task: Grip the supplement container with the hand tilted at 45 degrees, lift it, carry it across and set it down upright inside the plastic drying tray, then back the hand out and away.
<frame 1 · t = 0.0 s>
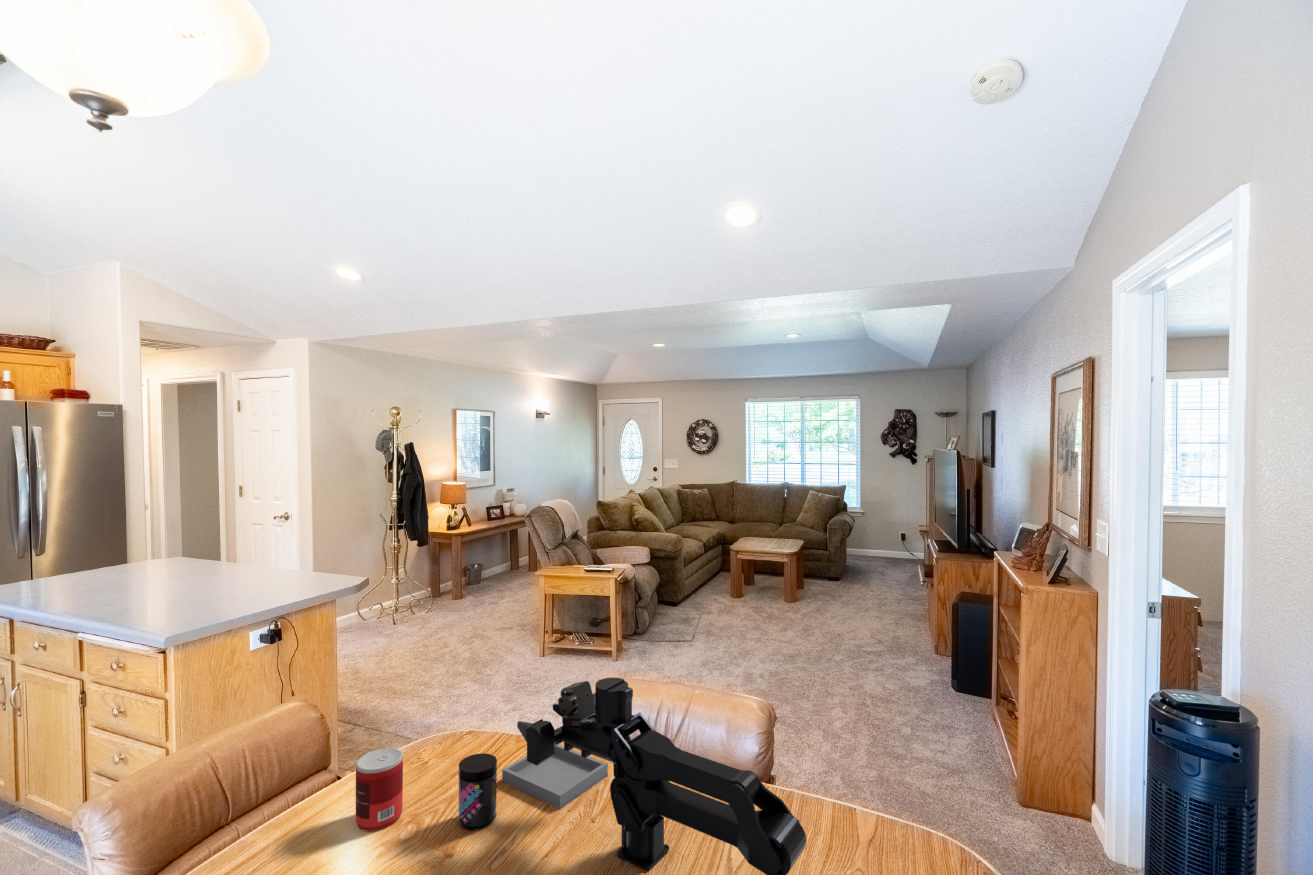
hand: (536, 715, 117), 17 cm above the table, tool horizontal, fingers open, 9 cm apart
canned food: (379, 819, 112), on the table
supplement container: (477, 821, 111), on the table
drying tray: (555, 778, 125), on the table
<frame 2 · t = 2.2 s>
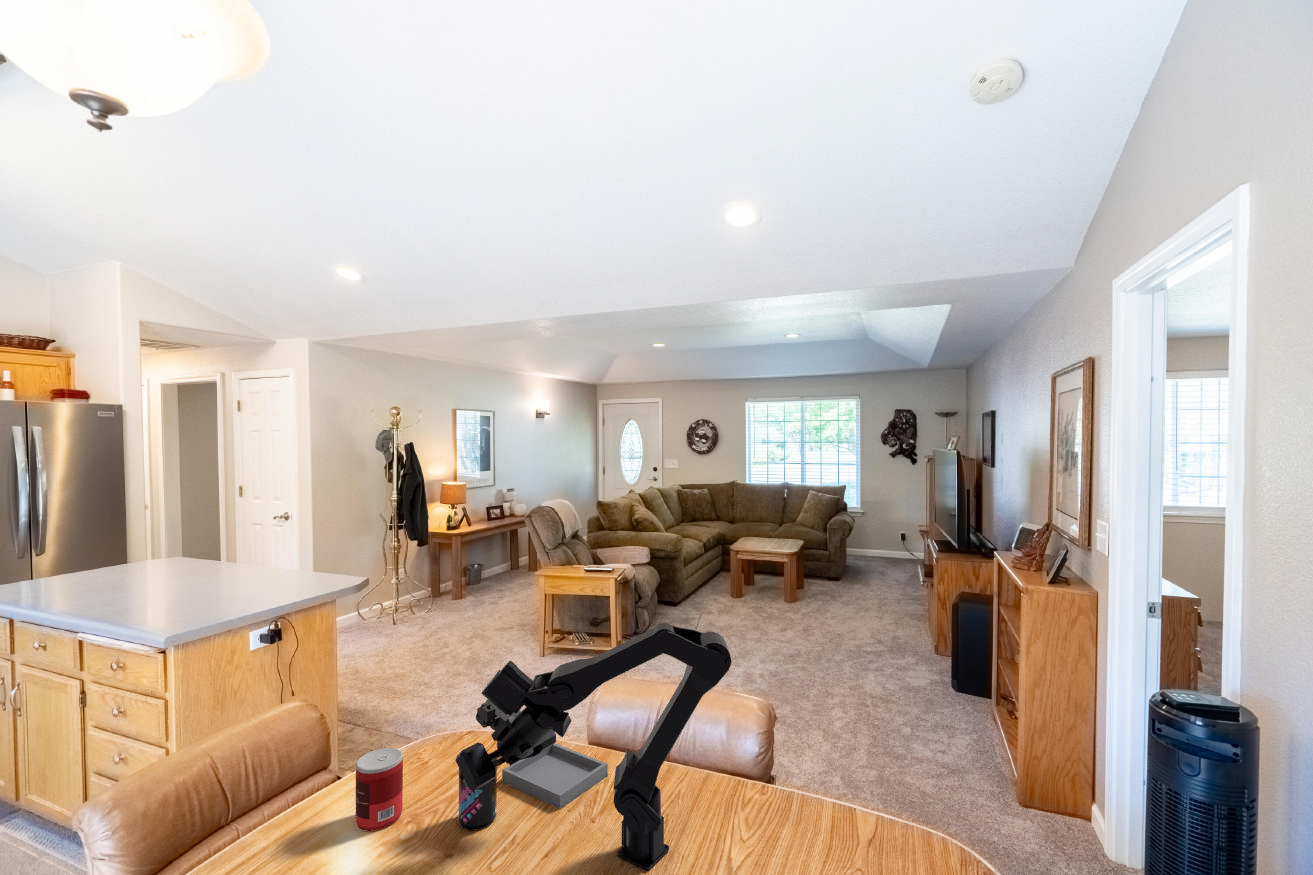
hand: (486, 771, 110), 10 cm above the table, tool tilted 45°, fingers open, 9 cm apart
nothing on the table moved.
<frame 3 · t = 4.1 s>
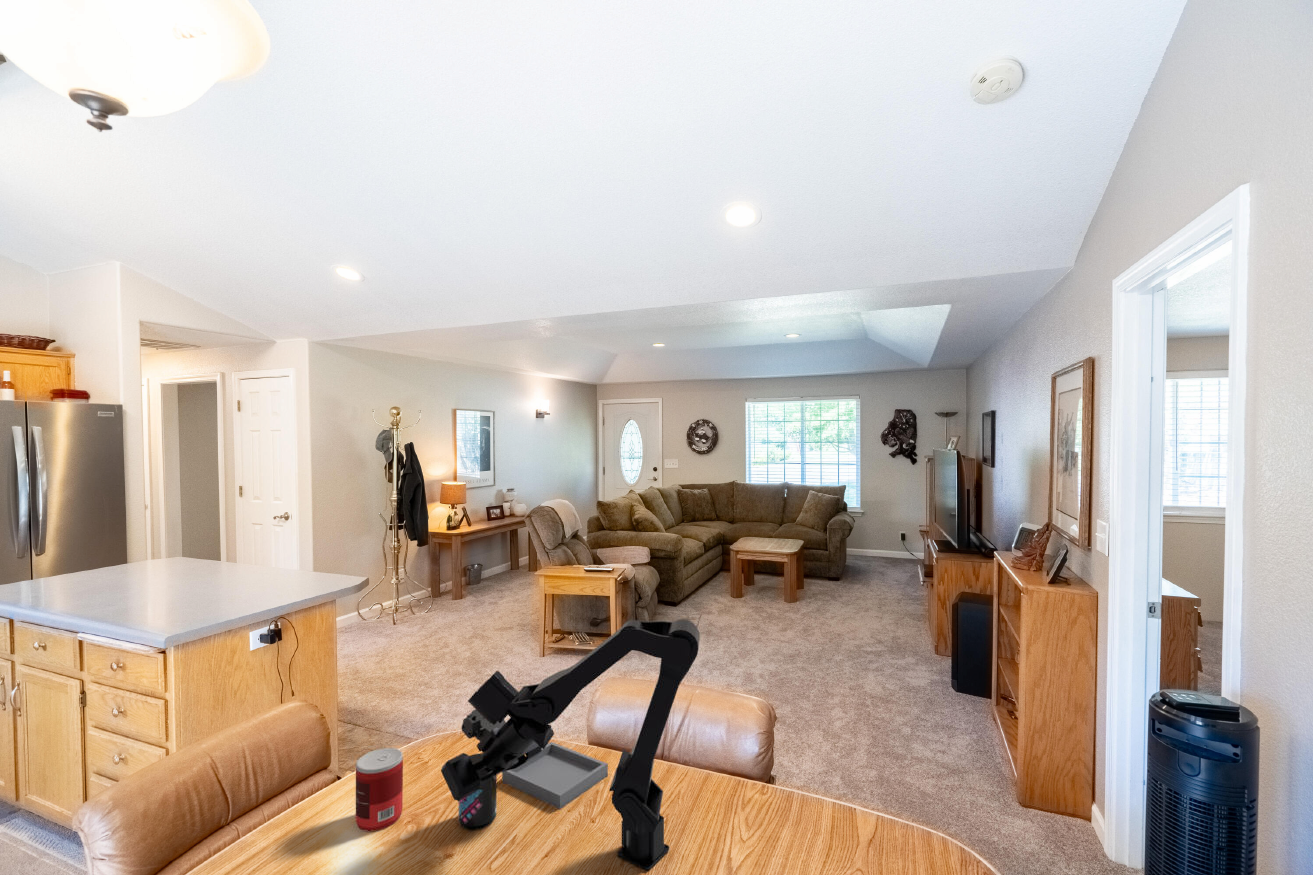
hand: (472, 780, 112), 7 cm above the table, tool tilted 45°, fingers closed on supplement container, 7 cm apart
supplement container: (477, 820, 111), on the table, touching gripper
everything else where it was.
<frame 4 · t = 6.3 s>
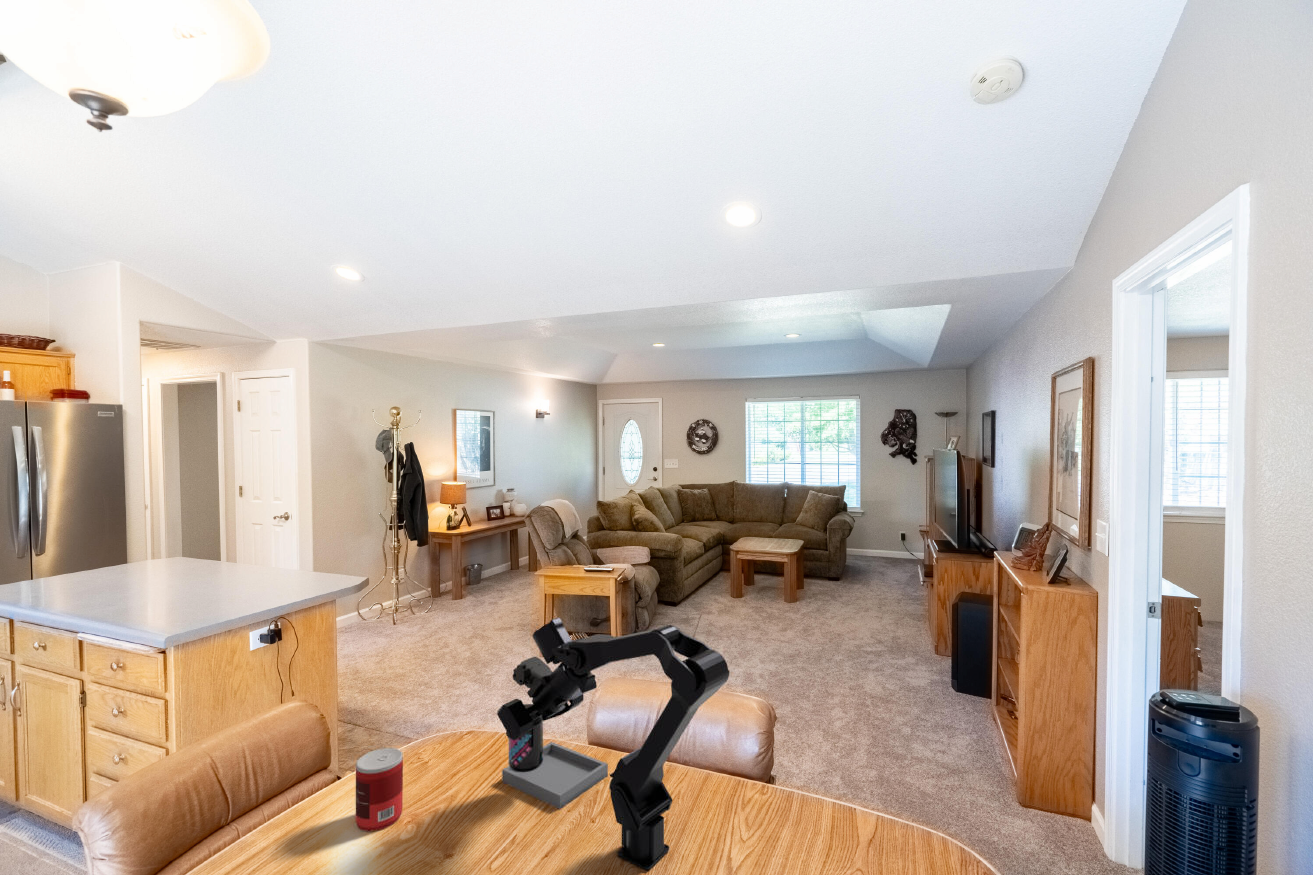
hand: (521, 728, 121), 12 cm above the table, tool tilted 45°, fingers closed on supplement container, 7 cm apart
supplement container: (525, 765, 120), point 5 cm above the table, touching gripper
everything else where it was.
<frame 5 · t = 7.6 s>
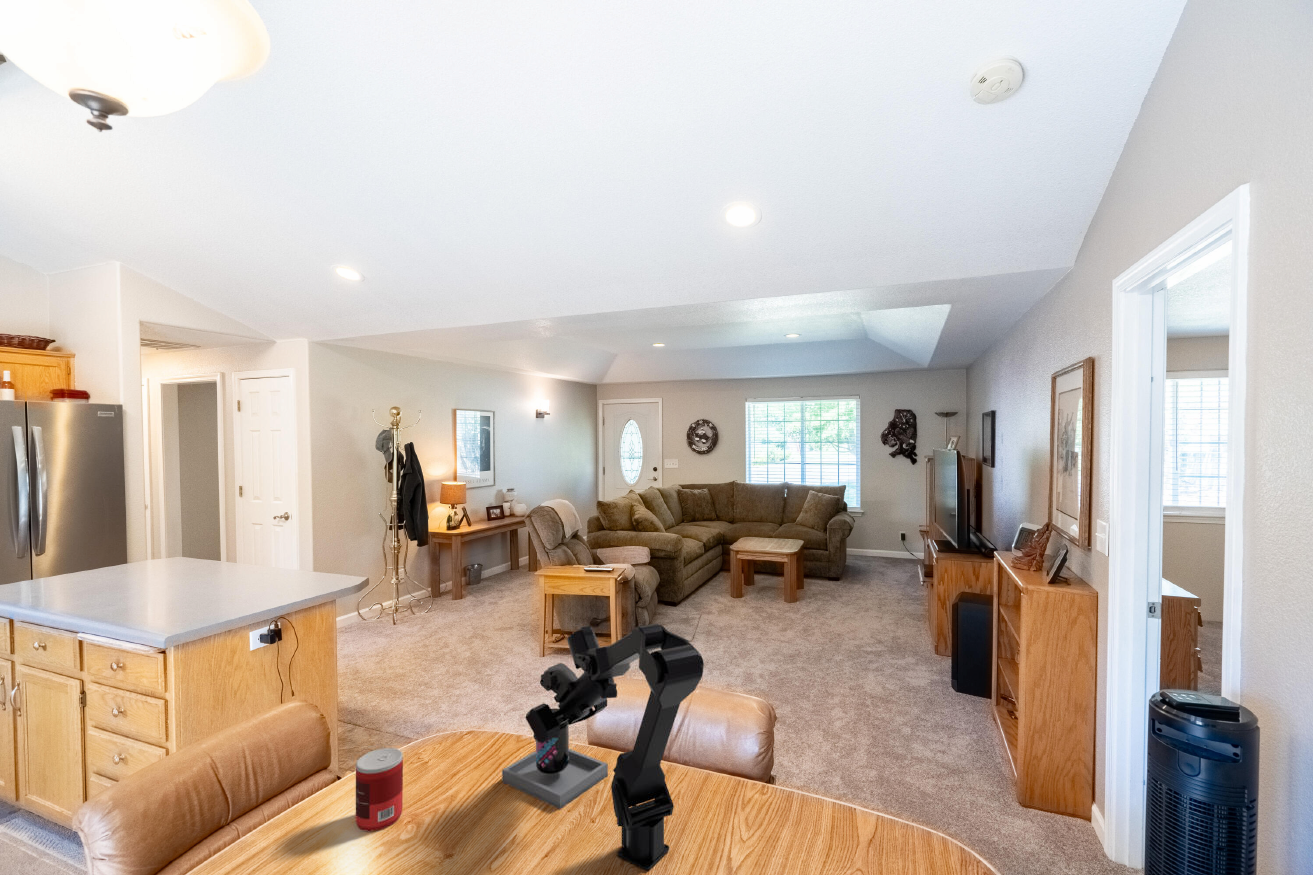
hand: (547, 731, 126), 9 cm above the table, tool tilted 45°, fingers closed on supplement container, 7 cm apart
supplement container: (552, 767, 125), point 2 cm above the table, touching gripper
everything else where it was.
when the fingers open (8 cm above the table, at t = 8.7 s): supplement container stays where it is, resting on drying tray.
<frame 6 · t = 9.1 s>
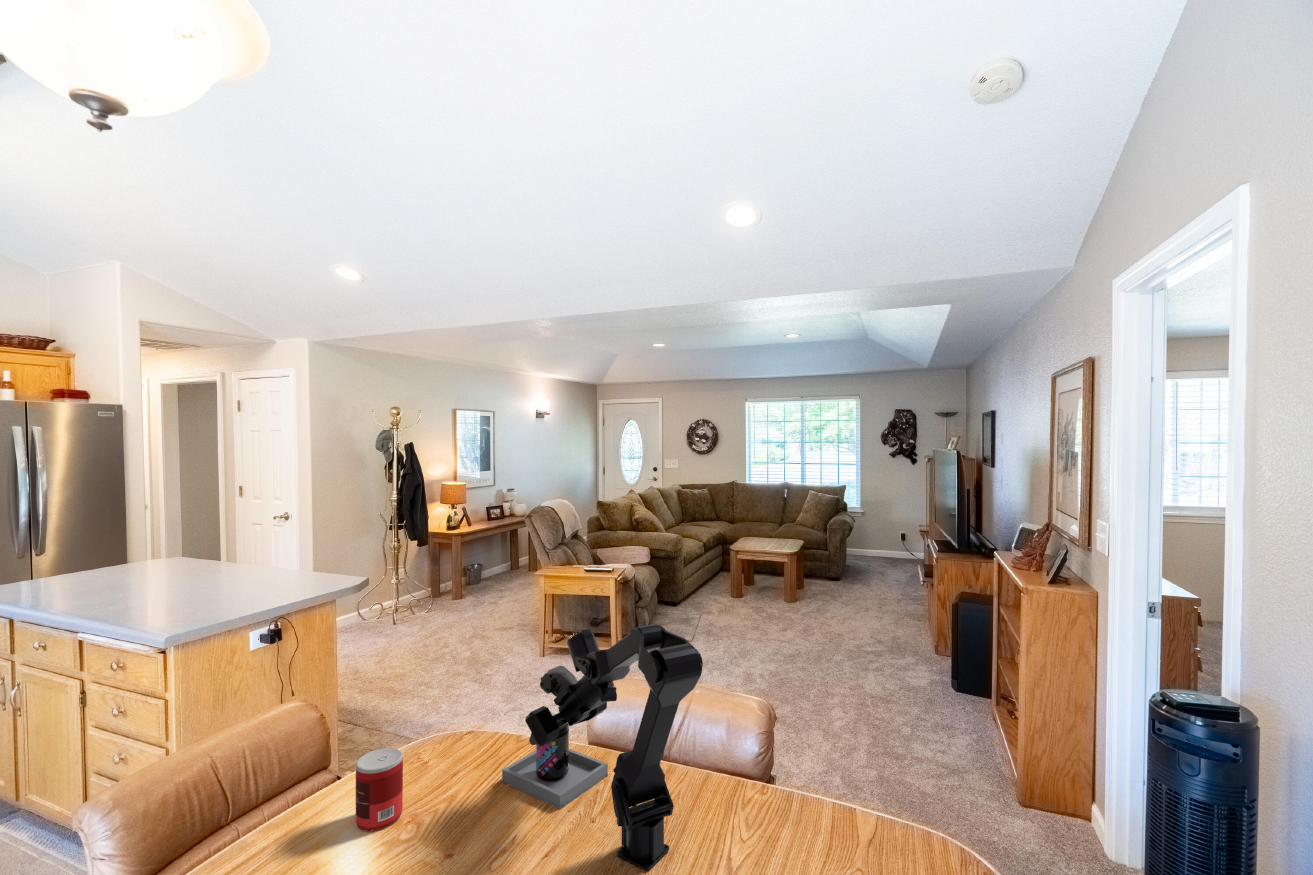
hand: (547, 733, 126), 9 cm above the table, tool tilted 45°, fingers open, 9 cm apart
supplement container: (552, 774, 125), point 1 cm above the table, touching drying tray
everything else where it was.
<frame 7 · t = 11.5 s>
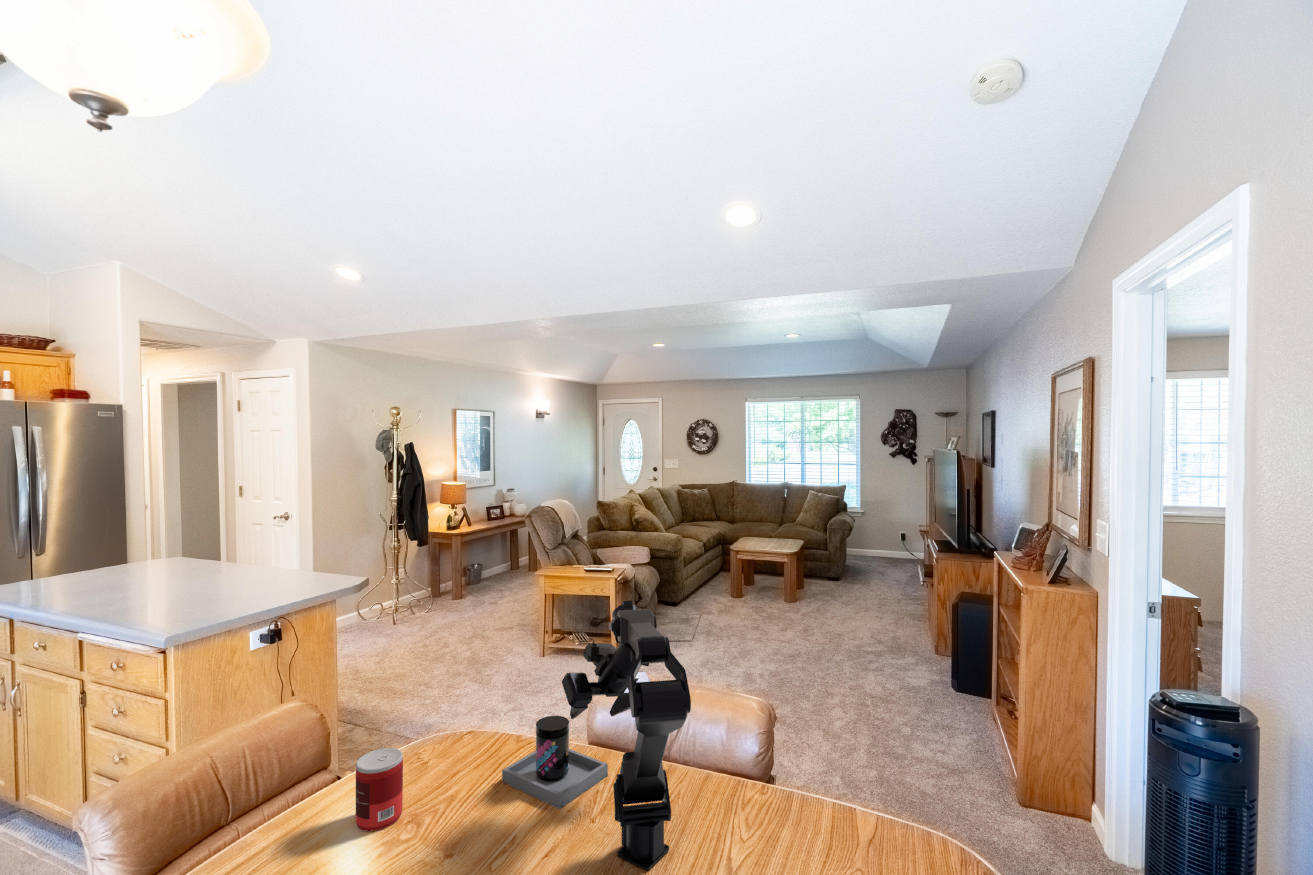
hand: (591, 715, 123), 14 cm above the table, tool tilted 35°, fingers open, 9 cm apart
nothing on the table moved.
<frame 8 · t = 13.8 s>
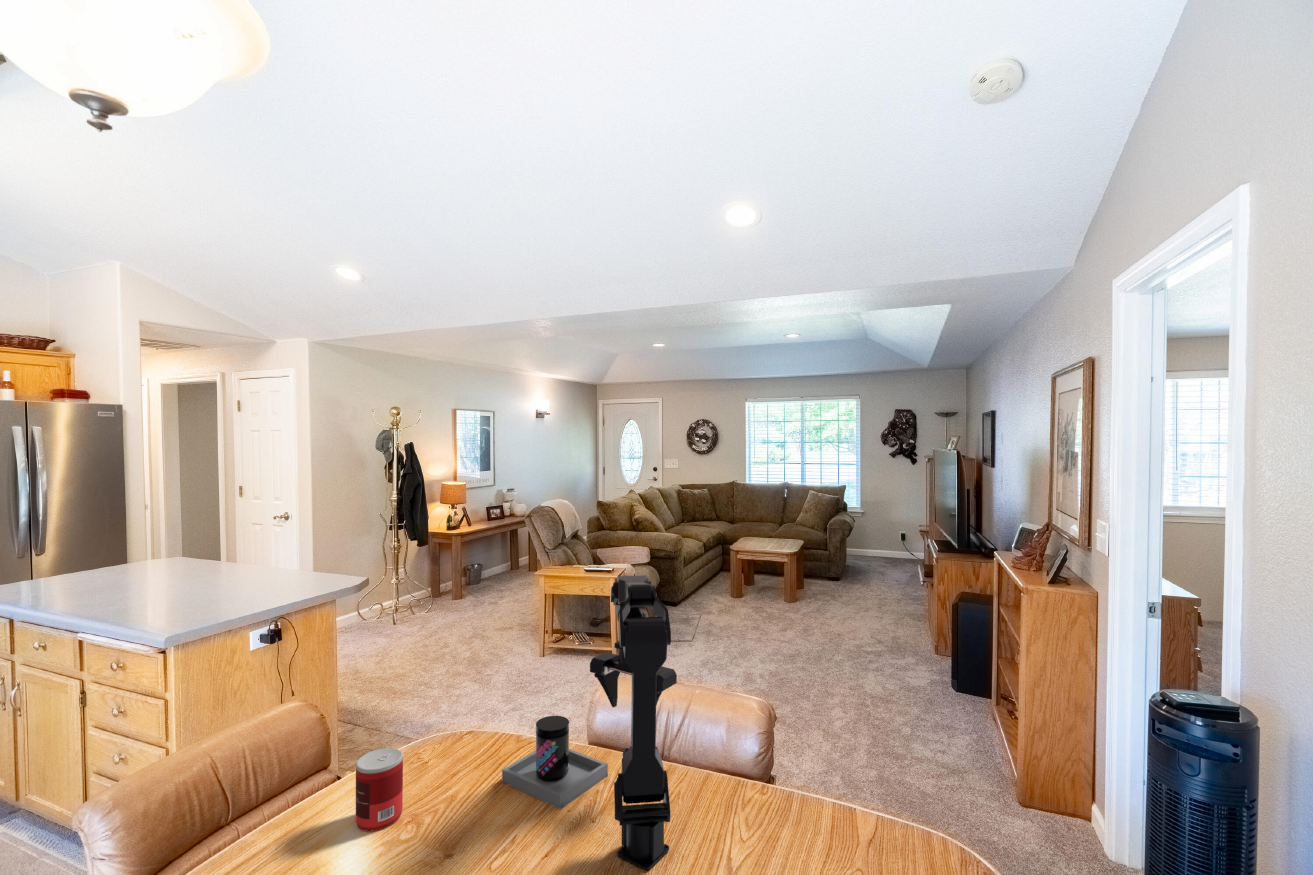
hand: (631, 712, 126), 13 cm above the table, tool pointing down, fingers open, 9 cm apart
nothing on the table moved.
at the end: supplement container inside the target area on the drying tray (0.8 cm from its centre), point 0.6 cm above the drying tray's base; supplement container tilted 0°; the gripper is holding nothing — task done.
